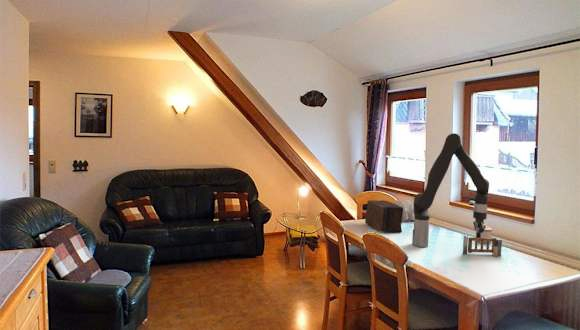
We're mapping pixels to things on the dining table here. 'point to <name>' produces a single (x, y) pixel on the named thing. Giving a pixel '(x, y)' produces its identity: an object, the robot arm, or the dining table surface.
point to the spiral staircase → (407, 209)
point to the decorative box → (384, 216)
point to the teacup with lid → (486, 233)
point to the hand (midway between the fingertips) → (478, 238)
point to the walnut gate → (481, 244)
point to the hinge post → (465, 245)
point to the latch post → (497, 248)
